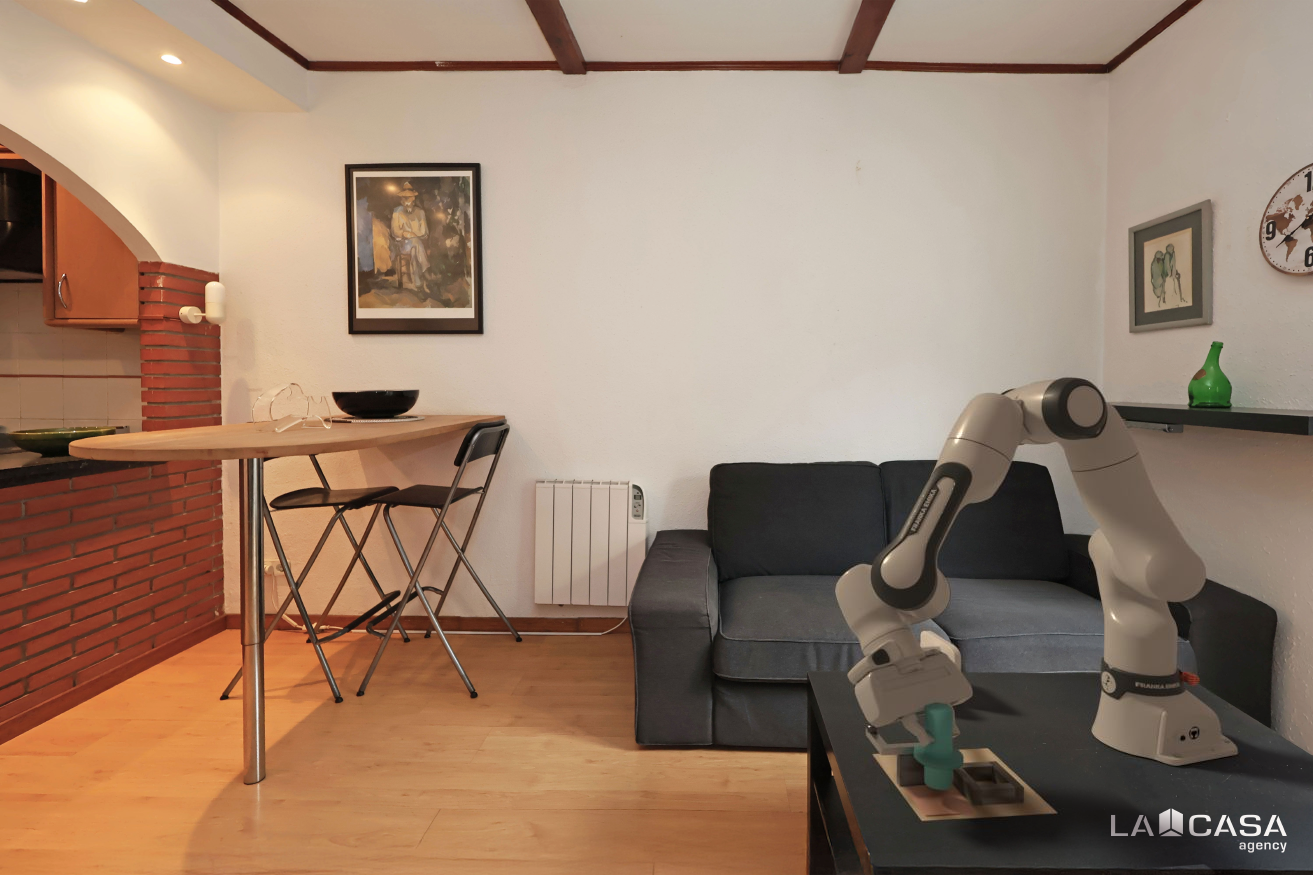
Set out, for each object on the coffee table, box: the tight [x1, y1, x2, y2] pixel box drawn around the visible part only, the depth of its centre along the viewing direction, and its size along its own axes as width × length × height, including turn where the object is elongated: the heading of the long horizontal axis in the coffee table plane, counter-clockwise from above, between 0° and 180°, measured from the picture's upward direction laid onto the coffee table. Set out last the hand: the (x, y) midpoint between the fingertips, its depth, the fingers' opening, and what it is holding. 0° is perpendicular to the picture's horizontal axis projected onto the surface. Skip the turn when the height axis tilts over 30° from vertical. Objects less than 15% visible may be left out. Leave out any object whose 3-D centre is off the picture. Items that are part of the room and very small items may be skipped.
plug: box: [914, 702, 964, 790], centre depth 113 cm, size 7×7×12 cm
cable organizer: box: [920, 630, 962, 672], centre depth 155 cm, size 15×11×12 cm
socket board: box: [872, 748, 1058, 822], centre depth 119 cm, size 21×20×6 cm
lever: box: [865, 722, 920, 756], centre depth 121 cm, size 10×7×2 cm
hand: (942, 740), depth 113 cm, fingers closed on plug, 4 cm apart
